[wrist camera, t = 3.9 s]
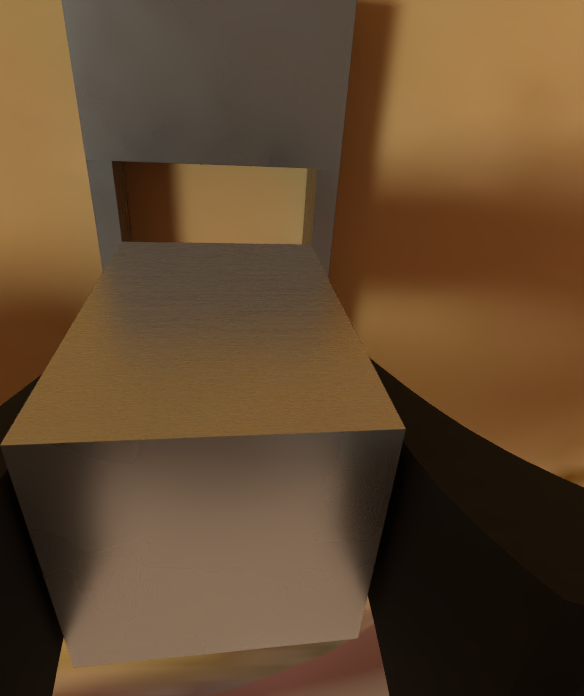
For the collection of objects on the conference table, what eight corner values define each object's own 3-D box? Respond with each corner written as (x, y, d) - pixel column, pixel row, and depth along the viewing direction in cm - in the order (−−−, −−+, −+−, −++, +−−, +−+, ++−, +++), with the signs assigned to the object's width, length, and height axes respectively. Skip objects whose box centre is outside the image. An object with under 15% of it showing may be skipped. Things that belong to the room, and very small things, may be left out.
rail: (150, 529, 26) (146, 558, 24) (74, -26, 14) (55, -38, 12) (295, 518, 27) (300, 546, 25) (342, -1, 15) (357, -9, 13)
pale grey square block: (140, 397, 13) (73, 667, 7) (121, 241, 11) (0, 445, 5) (298, 393, 14) (357, 638, 8) (310, 244, 12) (405, 428, 6)
